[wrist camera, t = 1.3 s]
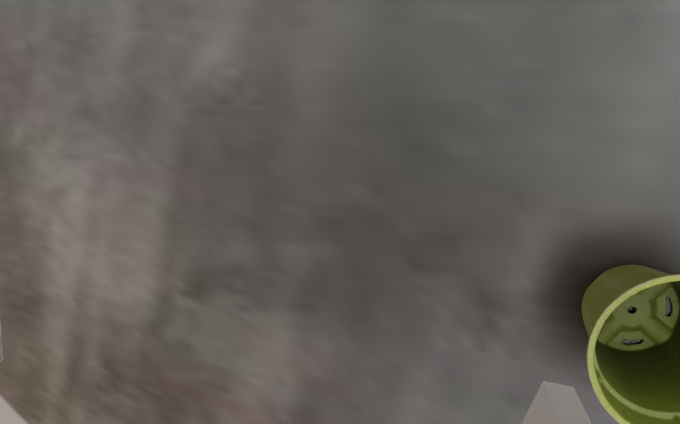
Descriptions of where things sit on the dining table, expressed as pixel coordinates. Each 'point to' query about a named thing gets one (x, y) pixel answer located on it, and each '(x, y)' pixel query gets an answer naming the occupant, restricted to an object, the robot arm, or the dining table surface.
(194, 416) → the dining table surface
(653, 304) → the plant pot
